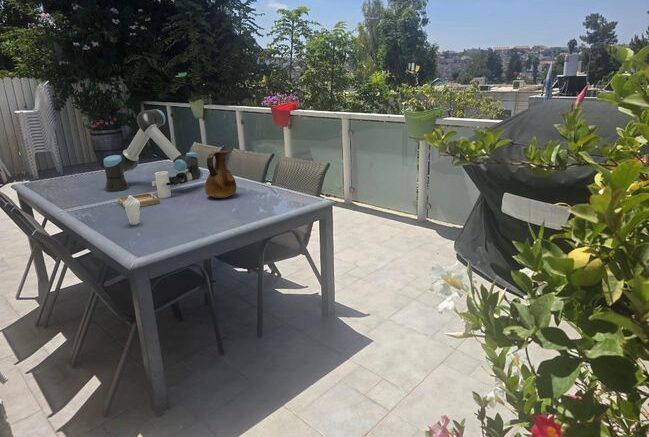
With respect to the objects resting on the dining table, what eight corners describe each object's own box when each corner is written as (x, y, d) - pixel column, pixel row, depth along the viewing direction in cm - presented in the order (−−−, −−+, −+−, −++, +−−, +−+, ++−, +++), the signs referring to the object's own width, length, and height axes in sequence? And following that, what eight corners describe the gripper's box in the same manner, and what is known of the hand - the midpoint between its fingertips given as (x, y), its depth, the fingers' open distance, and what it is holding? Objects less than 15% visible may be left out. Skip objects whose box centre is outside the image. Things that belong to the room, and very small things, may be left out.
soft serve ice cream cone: (129, 221, 250) (124, 193, 245) (145, 220, 251) (140, 192, 246) (124, 226, 242) (119, 197, 237) (140, 225, 243) (135, 196, 238)
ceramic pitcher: (243, 194, 301) (239, 149, 292) (224, 201, 284) (219, 154, 275) (219, 191, 309) (214, 147, 300) (199, 199, 292) (194, 152, 283)
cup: (167, 198, 296) (163, 174, 291) (155, 197, 298) (152, 173, 293) (173, 194, 304) (170, 171, 299) (162, 194, 305) (159, 171, 300)
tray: (118, 202, 288) (117, 198, 287) (150, 197, 299) (150, 192, 298) (126, 209, 273) (125, 204, 272) (159, 203, 284) (159, 198, 283)
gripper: (195, 184, 309) (169, 191, 290) (173, 181, 319) (147, 188, 300) (194, 173, 306) (167, 180, 288) (172, 170, 317) (145, 177, 298)
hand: (157, 184), depth 294 cm, fingers closed on cup, 8 cm apart
